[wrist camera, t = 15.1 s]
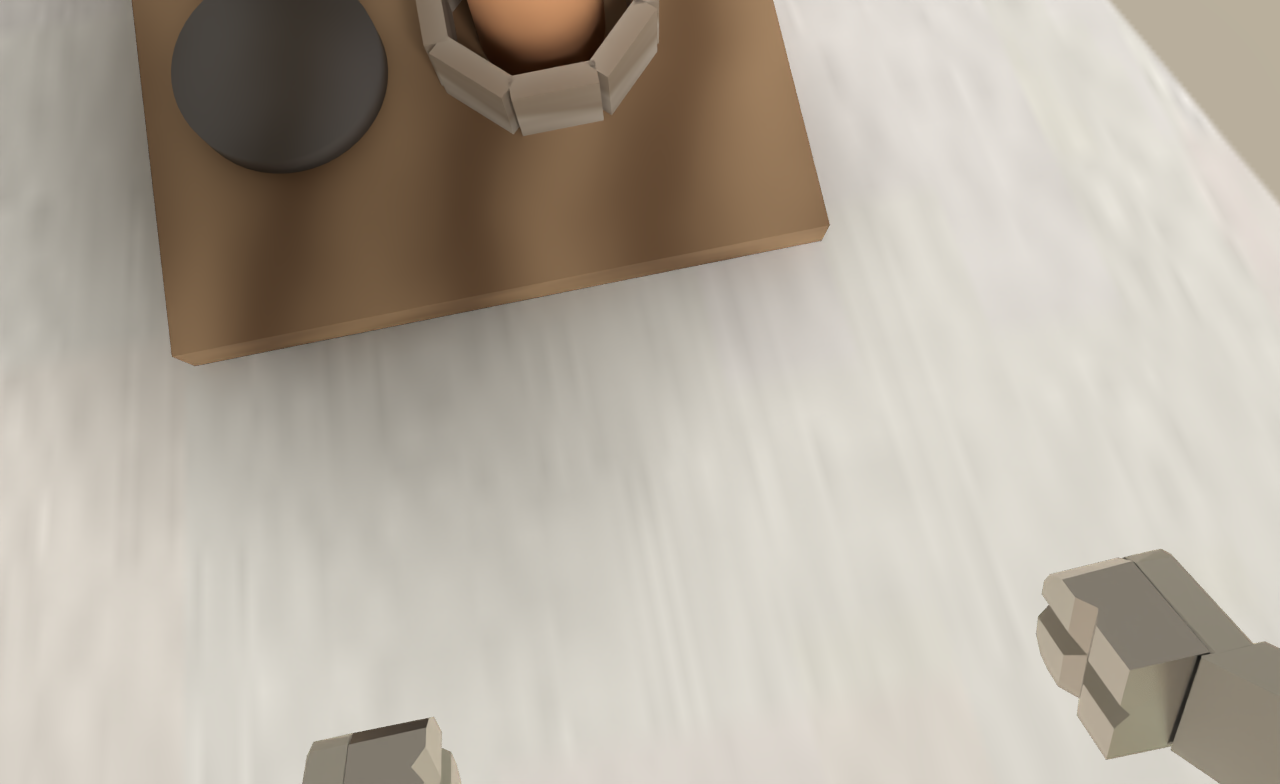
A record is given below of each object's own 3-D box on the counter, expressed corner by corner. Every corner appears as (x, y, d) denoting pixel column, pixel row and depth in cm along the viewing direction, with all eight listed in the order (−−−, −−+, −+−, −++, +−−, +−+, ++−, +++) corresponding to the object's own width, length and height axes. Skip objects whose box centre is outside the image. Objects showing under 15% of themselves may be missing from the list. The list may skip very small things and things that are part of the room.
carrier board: (195, 365, 31) (128, 338, 27) (141, -92, 34) (74, -176, 30) (821, 240, 31) (845, 195, 27) (711, -200, 35) (718, -297, 31)
